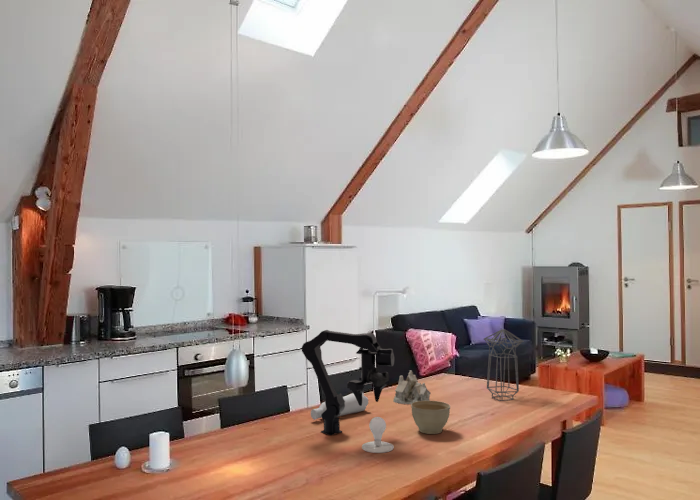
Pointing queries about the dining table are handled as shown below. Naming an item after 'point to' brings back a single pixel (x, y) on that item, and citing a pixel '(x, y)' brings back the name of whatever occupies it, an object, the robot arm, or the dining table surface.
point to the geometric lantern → (504, 361)
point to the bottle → (350, 406)
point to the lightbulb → (377, 429)
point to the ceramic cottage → (410, 390)
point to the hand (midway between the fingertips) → (368, 403)
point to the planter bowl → (430, 415)
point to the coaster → (377, 447)
